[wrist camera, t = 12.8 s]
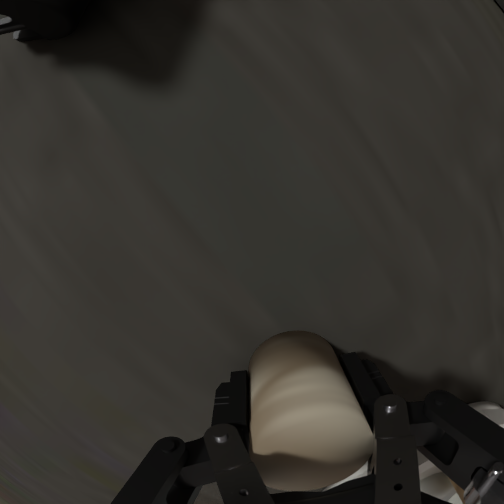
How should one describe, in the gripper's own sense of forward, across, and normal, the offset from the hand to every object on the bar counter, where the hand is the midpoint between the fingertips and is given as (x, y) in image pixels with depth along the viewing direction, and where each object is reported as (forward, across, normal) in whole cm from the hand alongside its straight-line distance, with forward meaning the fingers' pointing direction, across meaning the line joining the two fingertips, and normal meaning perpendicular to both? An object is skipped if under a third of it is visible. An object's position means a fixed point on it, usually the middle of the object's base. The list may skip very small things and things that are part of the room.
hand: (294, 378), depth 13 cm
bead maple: (+1, 0, 0) cm, 1 cm away
